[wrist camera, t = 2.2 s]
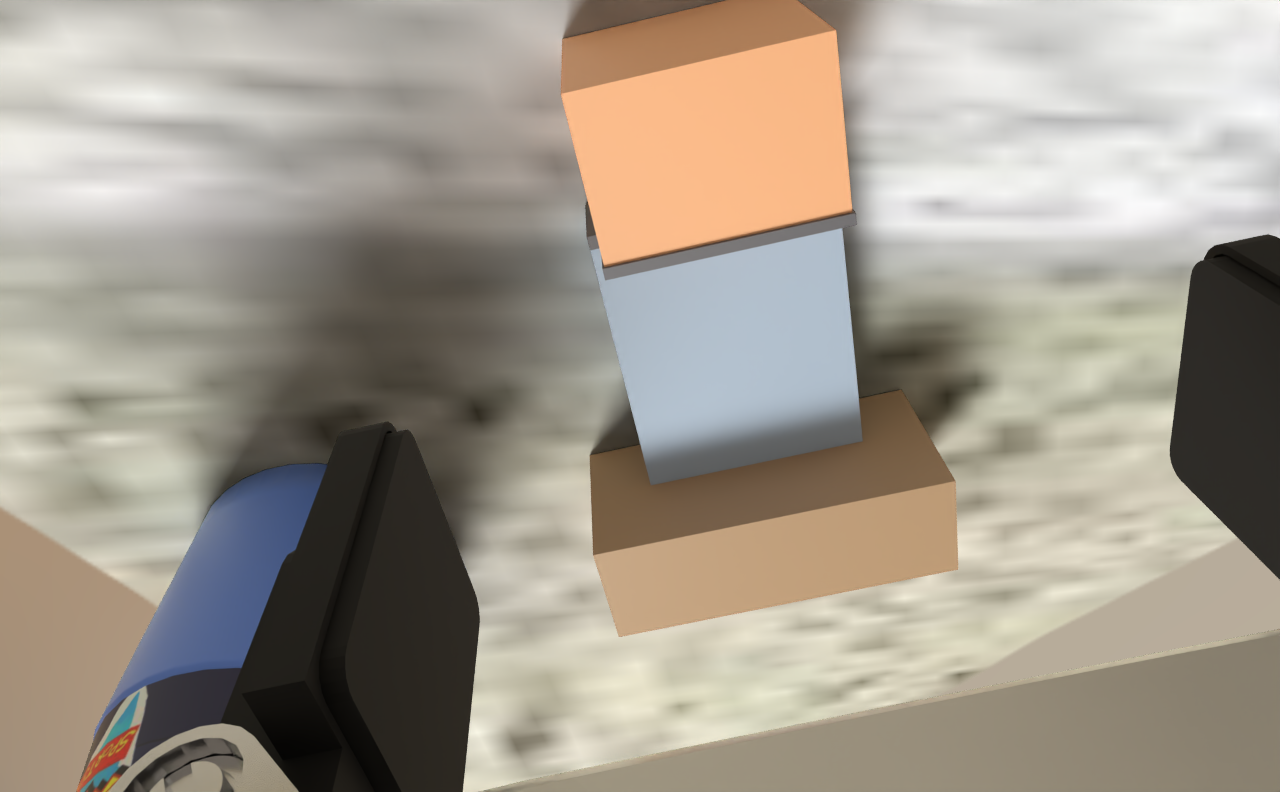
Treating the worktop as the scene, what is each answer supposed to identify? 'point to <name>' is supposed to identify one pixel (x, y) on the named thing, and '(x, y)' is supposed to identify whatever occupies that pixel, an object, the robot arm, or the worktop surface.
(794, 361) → the tan blue stepped block
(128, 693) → the water bottle
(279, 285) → the worktop surface
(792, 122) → the stub
